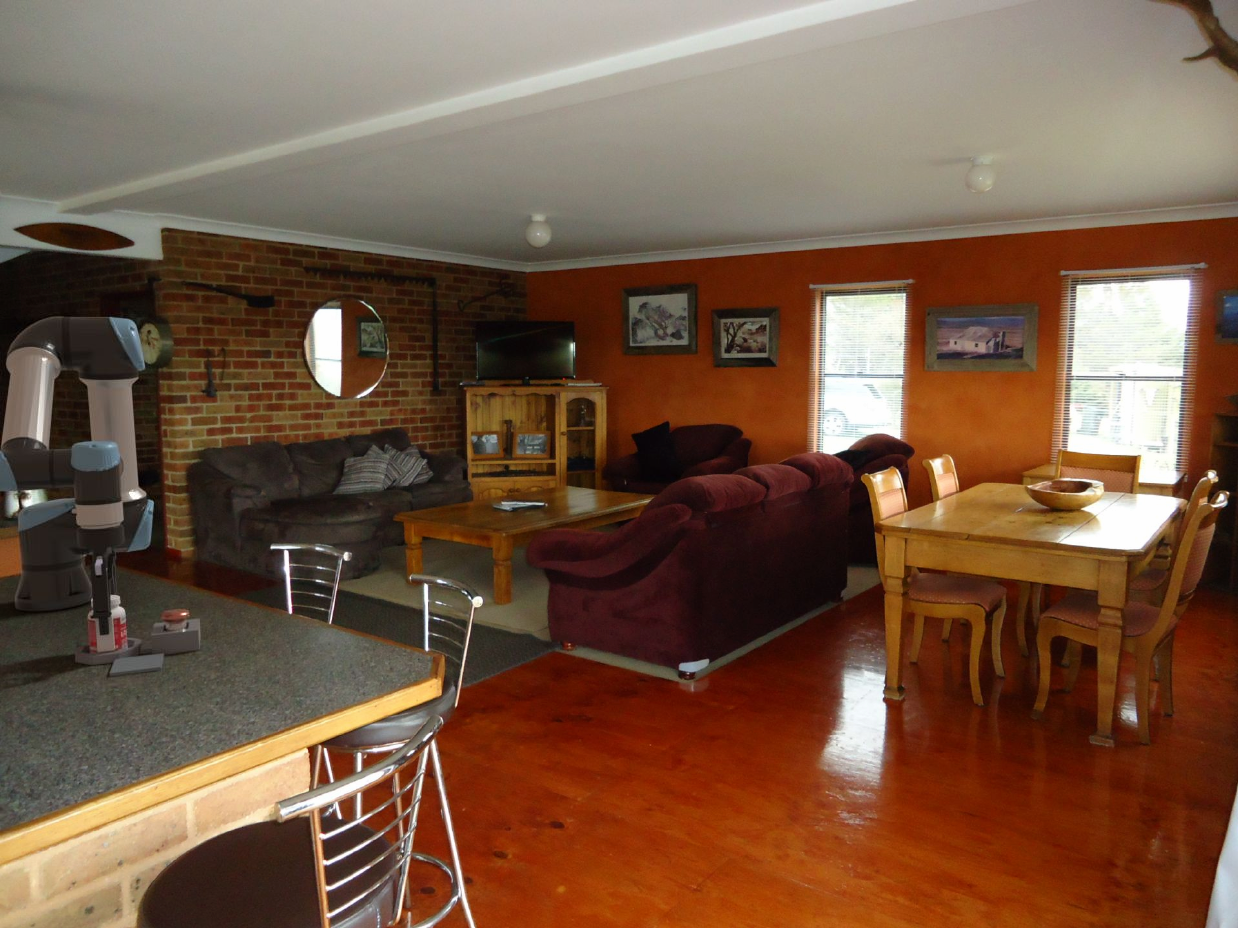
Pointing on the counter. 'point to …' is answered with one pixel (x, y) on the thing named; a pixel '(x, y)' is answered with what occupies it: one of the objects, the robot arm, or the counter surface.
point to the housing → (149, 644)
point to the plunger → (175, 619)
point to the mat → (137, 664)
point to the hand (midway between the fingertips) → (108, 644)
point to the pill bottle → (118, 626)
